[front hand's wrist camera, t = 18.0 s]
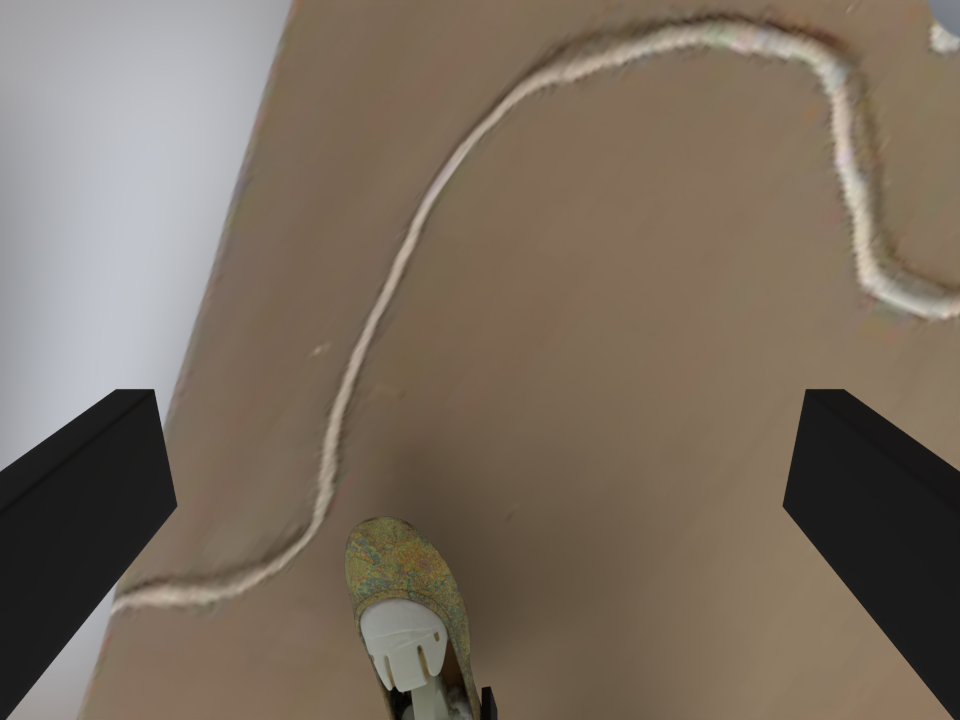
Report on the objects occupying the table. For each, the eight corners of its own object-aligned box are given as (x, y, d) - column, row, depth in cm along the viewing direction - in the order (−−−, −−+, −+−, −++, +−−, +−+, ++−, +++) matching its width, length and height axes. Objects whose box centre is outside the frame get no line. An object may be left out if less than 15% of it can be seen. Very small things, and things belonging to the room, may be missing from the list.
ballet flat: (440, 495, 46) (432, 567, 38) (505, 726, 54) (509, 822, 47) (331, 516, 47) (303, 590, 39) (413, 741, 55) (402, 837, 48)
